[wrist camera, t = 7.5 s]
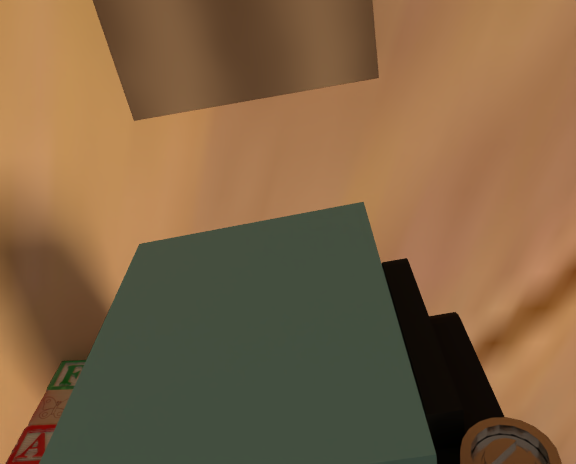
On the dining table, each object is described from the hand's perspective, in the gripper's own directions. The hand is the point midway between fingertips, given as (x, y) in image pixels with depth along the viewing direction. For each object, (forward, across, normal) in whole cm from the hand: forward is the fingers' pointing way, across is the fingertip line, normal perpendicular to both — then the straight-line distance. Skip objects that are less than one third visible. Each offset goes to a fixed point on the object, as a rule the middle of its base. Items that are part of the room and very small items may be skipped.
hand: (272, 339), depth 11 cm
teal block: (+1, 0, 0) cm, 1 cm away
